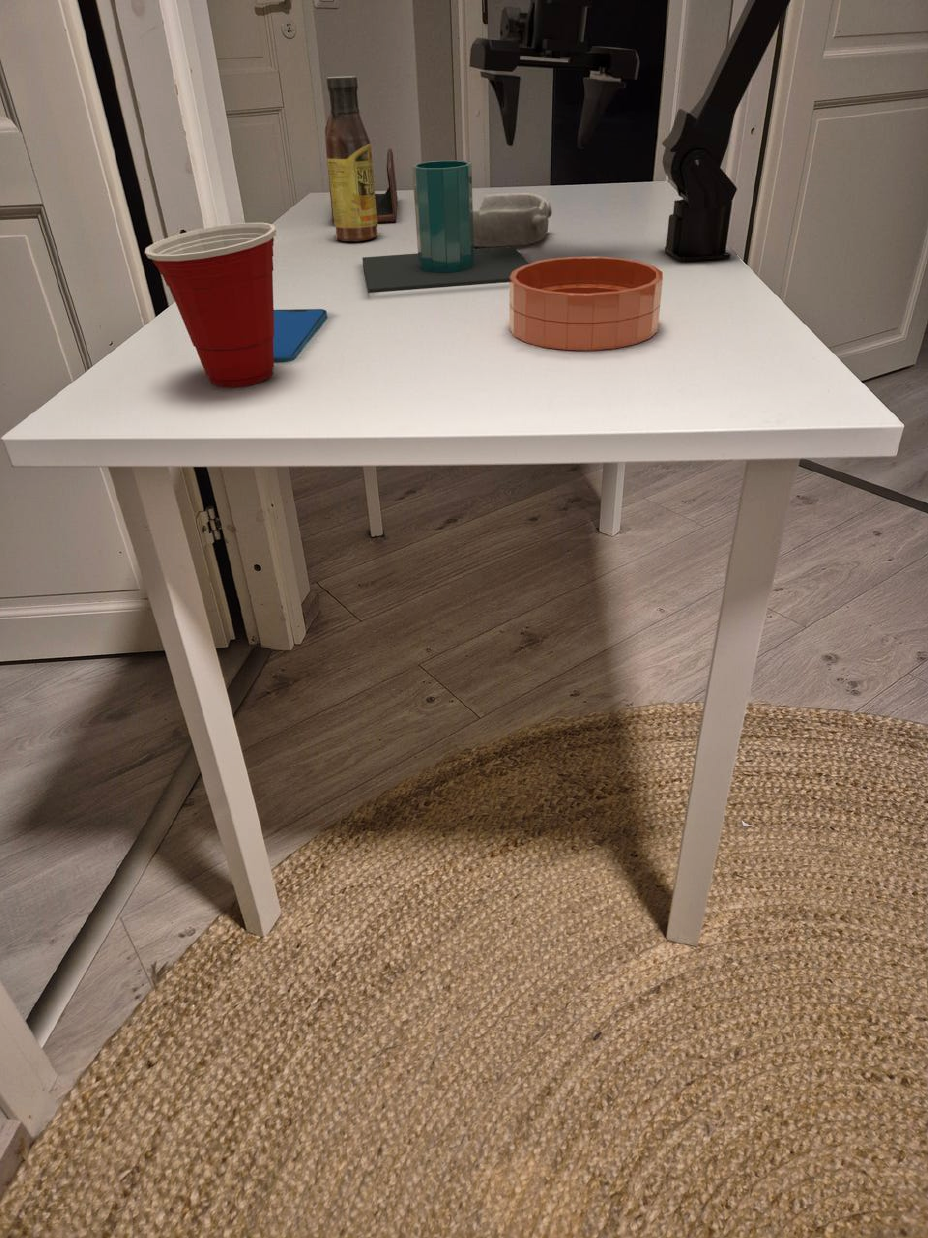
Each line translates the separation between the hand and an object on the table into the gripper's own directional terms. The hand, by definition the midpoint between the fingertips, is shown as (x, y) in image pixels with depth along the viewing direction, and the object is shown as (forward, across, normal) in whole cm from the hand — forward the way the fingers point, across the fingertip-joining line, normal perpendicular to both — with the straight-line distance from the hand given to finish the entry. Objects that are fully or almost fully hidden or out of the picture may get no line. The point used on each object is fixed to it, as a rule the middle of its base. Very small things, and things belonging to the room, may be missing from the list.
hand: (545, 146), depth 98 cm
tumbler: (+13, +12, +2) cm, 18 cm away
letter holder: (+16, +12, -44) cm, 48 cm away
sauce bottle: (+16, +18, -24) cm, 34 cm away
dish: (+13, -1, -13) cm, 19 cm away
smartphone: (+16, +35, +18) cm, 43 cm away
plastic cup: (+16, +40, +29) cm, 52 cm away
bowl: (+12, +7, +30) cm, 33 cm away
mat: (+14, +12, +2) cm, 19 cm away
